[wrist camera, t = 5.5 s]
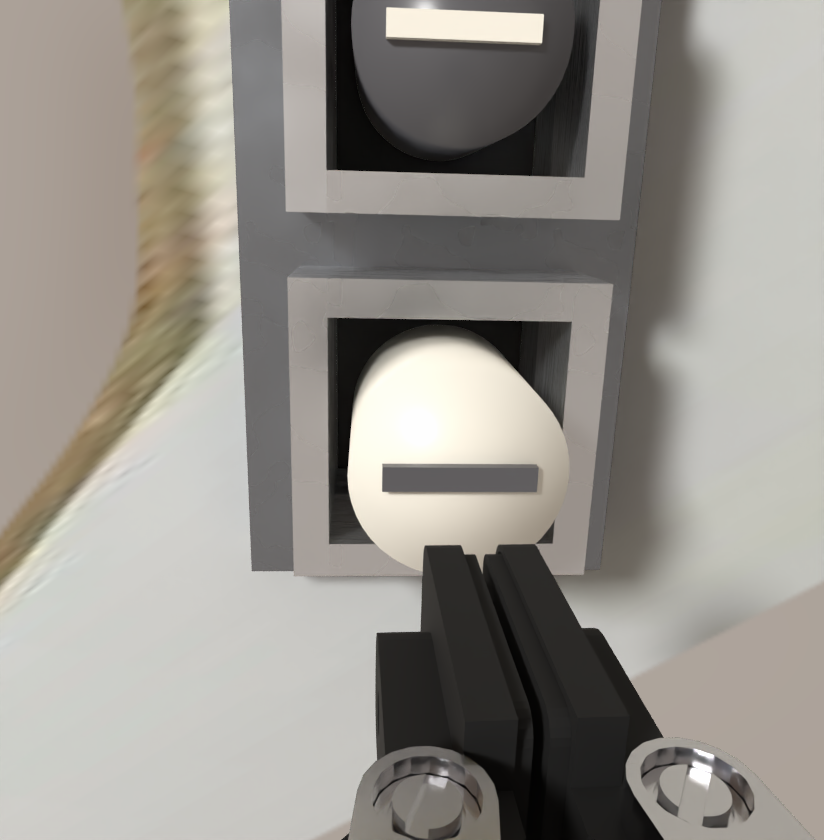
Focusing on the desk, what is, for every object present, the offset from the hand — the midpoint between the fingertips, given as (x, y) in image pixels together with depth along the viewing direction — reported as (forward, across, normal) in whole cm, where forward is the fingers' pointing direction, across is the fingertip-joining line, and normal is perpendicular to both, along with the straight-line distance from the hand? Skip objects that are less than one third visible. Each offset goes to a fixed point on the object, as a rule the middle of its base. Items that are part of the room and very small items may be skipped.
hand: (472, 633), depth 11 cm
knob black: (+15, -1, -10) cm, 18 cm away
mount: (+15, -1, -5) cm, 16 cm away
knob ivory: (+12, -1, 0) cm, 12 cm away
